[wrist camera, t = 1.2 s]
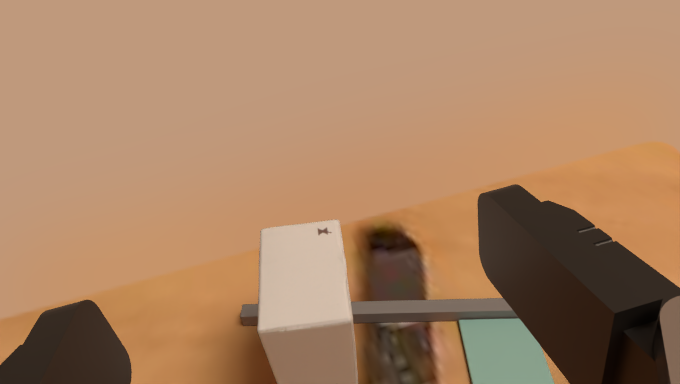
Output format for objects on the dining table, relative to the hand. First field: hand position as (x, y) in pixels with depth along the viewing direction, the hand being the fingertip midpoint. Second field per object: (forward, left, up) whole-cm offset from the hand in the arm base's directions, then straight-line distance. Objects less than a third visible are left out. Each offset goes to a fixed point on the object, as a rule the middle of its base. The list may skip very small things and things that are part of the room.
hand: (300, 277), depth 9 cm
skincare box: (-1, +7, -21) cm, 22 cm away
